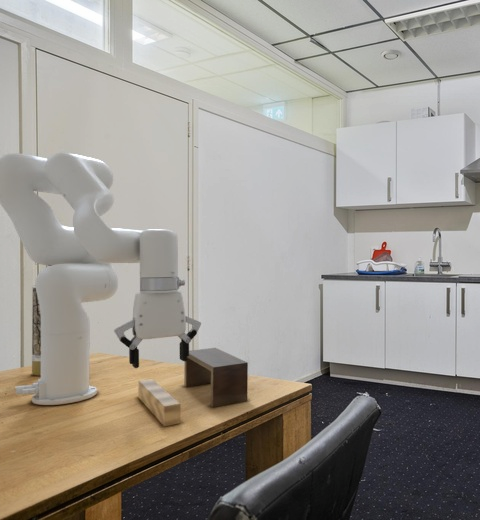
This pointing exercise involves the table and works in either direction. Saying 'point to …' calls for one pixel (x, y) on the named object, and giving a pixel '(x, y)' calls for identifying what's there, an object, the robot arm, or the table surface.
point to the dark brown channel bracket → (218, 375)
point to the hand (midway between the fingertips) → (160, 363)
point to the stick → (159, 402)
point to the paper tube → (36, 335)
